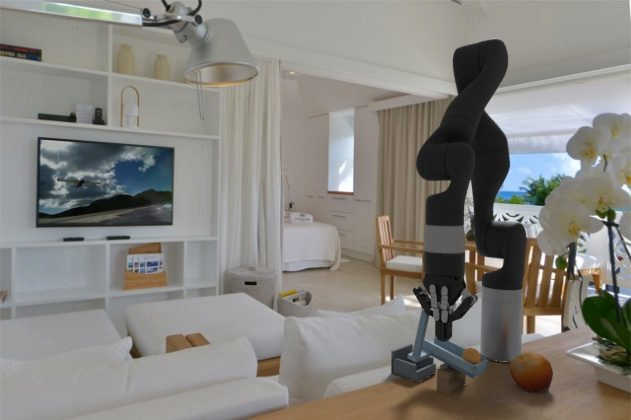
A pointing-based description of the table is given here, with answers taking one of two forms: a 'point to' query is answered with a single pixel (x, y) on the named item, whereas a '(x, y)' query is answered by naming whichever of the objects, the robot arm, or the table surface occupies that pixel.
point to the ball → (471, 356)
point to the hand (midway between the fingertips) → (443, 340)
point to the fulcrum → (449, 378)
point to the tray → (411, 365)
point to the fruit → (531, 372)
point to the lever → (444, 352)
